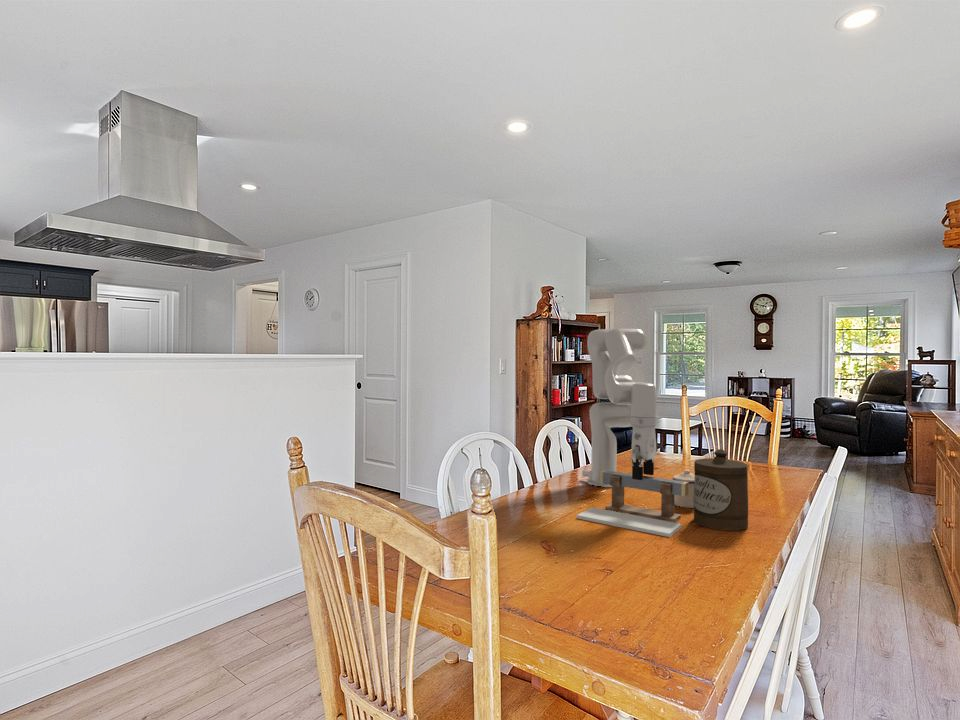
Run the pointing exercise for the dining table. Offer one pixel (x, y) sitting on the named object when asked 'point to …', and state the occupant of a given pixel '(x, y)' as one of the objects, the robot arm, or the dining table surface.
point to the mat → (630, 521)
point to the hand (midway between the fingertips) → (643, 477)
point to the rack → (664, 514)
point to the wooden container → (721, 493)
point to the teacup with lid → (689, 499)
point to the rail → (646, 482)
